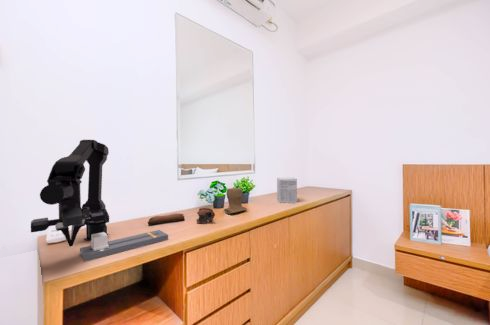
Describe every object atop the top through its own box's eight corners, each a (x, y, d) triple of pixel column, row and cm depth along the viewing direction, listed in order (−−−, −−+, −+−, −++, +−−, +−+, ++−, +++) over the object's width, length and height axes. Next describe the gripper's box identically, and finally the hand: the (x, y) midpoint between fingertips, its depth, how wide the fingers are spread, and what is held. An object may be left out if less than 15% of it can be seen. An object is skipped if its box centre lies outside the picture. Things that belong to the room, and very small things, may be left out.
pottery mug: (191, 223, 115) (194, 208, 120) (204, 228, 122) (206, 213, 126) (207, 221, 109) (210, 204, 113) (220, 225, 115) (222, 210, 119)
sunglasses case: (180, 217, 127) (182, 208, 124) (183, 226, 122) (185, 217, 119) (146, 222, 118) (146, 212, 115) (147, 232, 113) (148, 222, 110)
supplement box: (297, 202, 164) (297, 178, 164) (279, 203, 164) (279, 179, 164) (293, 199, 177) (293, 177, 177) (277, 199, 177) (276, 177, 177)
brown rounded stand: (236, 208, 148) (235, 185, 147) (249, 211, 140) (249, 187, 139) (218, 212, 136) (218, 188, 136) (232, 216, 128) (231, 189, 128)
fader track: (84, 261, 72) (84, 255, 72) (80, 253, 79) (80, 247, 79) (168, 239, 92) (168, 234, 92) (159, 234, 98) (159, 229, 98)
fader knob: (93, 251, 75) (93, 238, 75) (90, 245, 80) (90, 234, 80) (108, 247, 78) (108, 235, 78) (104, 242, 83) (104, 231, 83)
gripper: (29, 206, 61) (31, 263, 61) (108, 198, 74) (109, 245, 74) (30, 201, 69) (31, 251, 70) (101, 194, 82) (102, 236, 82)
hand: (71, 246), depth 74 cm, fingers closed
